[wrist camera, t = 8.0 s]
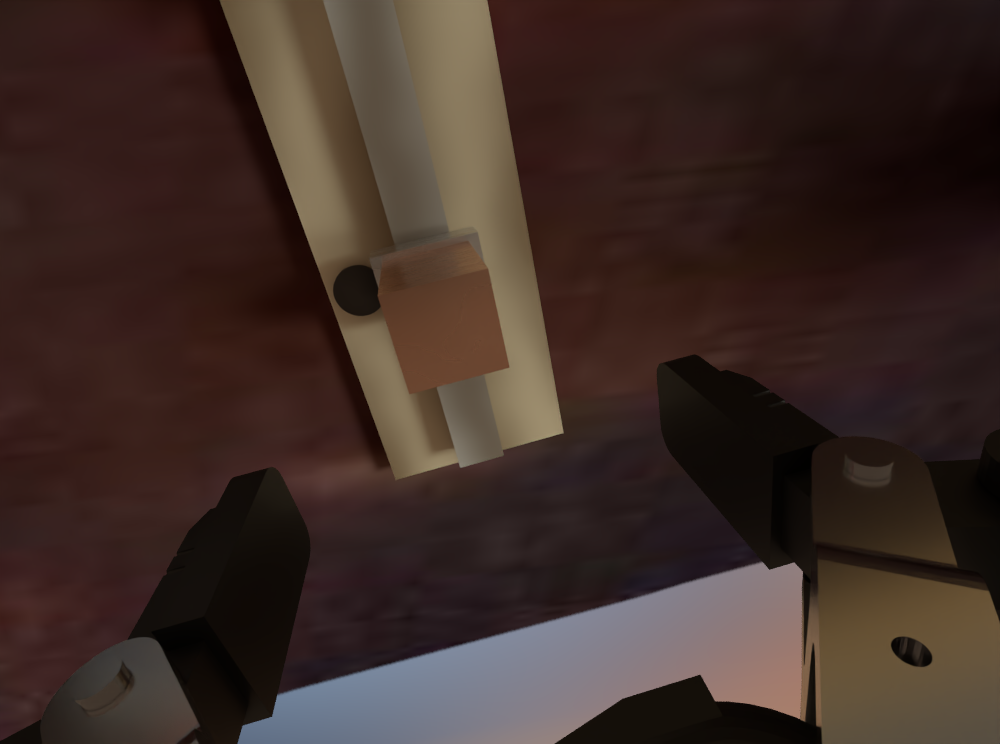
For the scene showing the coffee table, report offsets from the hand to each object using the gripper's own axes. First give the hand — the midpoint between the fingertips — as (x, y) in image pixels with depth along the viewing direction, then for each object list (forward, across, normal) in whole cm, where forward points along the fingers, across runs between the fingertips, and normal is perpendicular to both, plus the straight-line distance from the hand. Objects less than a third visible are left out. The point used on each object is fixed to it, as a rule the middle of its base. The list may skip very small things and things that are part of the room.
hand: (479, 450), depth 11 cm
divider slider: (+15, 0, 0) cm, 15 cm away
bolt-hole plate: (+17, 0, -4) cm, 18 cm away
